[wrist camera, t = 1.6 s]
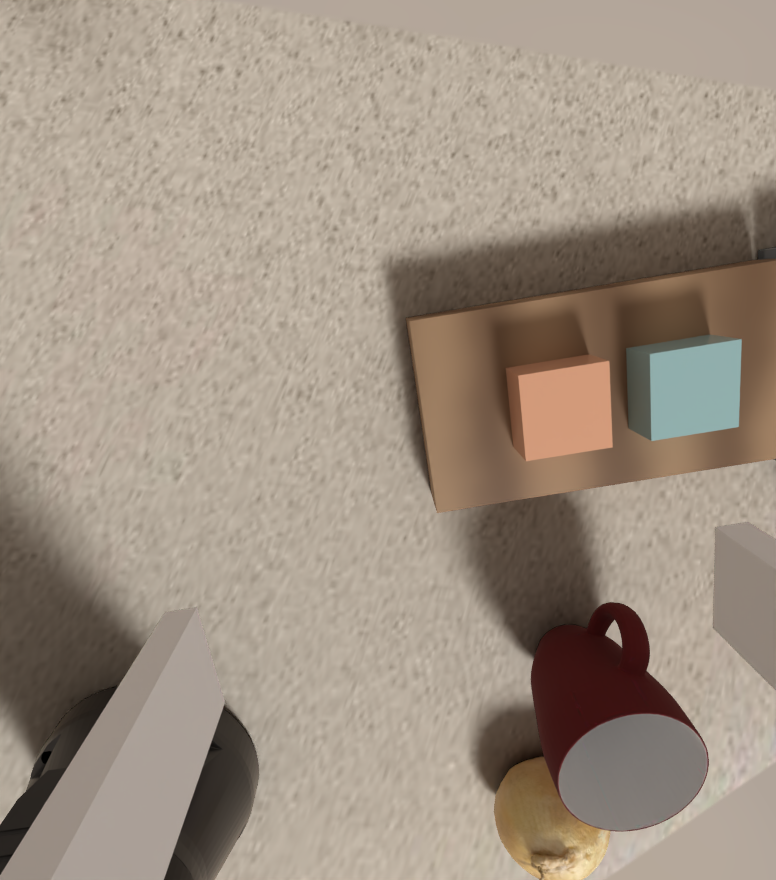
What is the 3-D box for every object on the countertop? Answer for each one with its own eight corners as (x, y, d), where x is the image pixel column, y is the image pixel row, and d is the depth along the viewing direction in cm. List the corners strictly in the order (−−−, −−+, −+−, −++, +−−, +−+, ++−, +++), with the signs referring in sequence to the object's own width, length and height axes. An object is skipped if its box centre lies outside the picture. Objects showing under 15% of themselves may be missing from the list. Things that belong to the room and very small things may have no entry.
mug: (521, 562, 35) (578, 667, 25) (639, 568, 35) (739, 673, 26) (501, 693, 38) (545, 831, 28) (610, 696, 38) (690, 834, 29)
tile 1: (628, 428, 29) (651, 441, 27) (626, 348, 28) (649, 354, 26) (708, 415, 29) (738, 427, 27) (710, 334, 28) (741, 339, 26)
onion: (574, 725, 39) (617, 817, 32) (602, 799, 41) (648, 901, 35) (473, 759, 40) (494, 857, 33) (506, 831, 42) (532, 937, 35)
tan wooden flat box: (431, 493, 33) (437, 513, 31) (405, 317, 30) (409, 321, 27) (746, 442, 33) (781, 457, 30) (752, 259, 30) (793, 257, 27)
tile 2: (513, 446, 30) (525, 461, 27) (505, 368, 28) (518, 375, 26) (593, 434, 29) (612, 447, 27) (588, 354, 28) (609, 360, 26)
